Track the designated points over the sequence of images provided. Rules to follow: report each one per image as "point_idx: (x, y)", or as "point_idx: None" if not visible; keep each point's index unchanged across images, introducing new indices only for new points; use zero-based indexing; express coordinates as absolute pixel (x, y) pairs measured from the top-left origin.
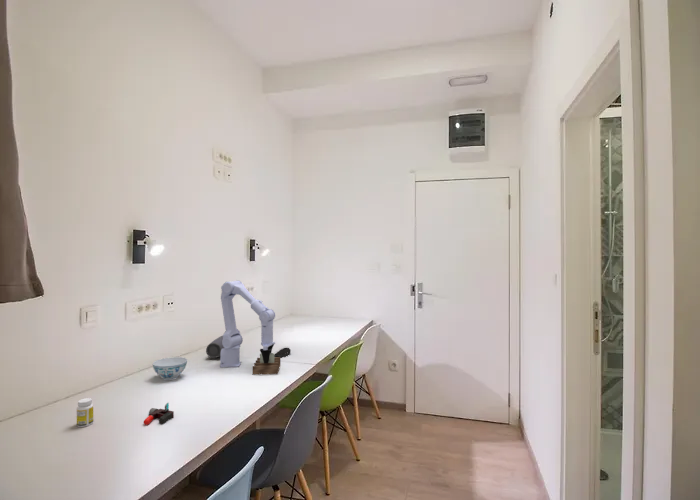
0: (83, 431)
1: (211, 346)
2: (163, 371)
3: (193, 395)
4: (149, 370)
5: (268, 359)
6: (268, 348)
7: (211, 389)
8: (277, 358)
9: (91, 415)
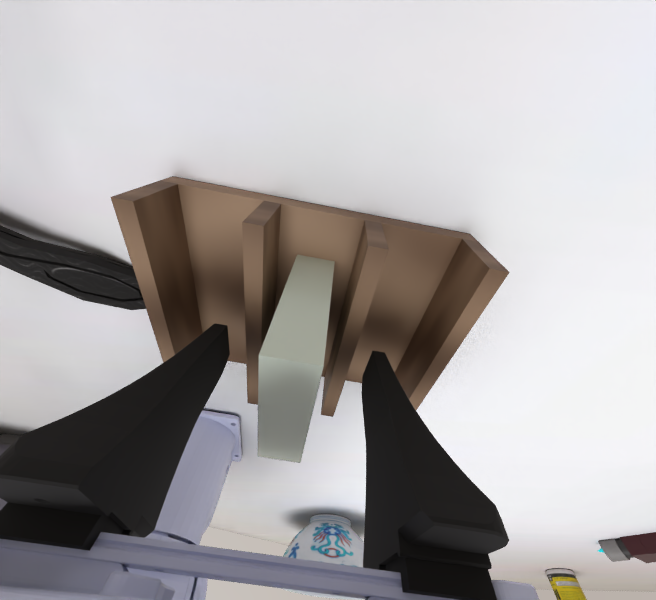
0: (593, 572)
1: None
2: None
3: (534, 505)
4: (257, 533)
5: (400, 384)
6: (157, 450)
7: (512, 481)
8: (150, 235)
9: (580, 593)
